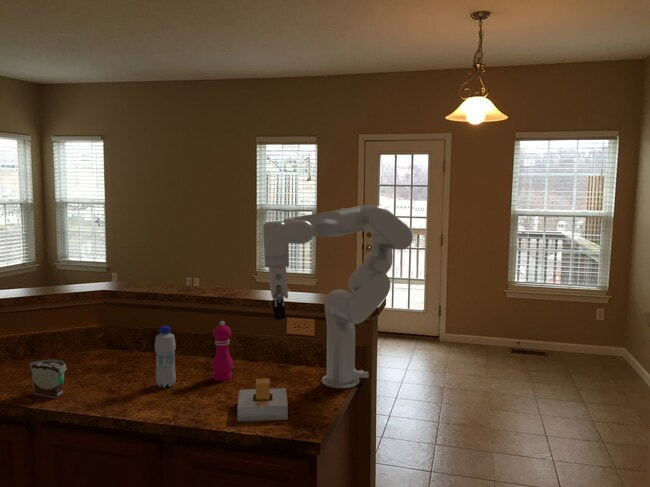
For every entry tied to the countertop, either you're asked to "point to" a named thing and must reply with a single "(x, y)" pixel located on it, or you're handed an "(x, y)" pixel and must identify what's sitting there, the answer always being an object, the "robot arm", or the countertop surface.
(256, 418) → the white flat block
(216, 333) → the pepper mill
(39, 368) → the food container
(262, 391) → the wooden block
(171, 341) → the bottle
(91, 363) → the countertop surface
